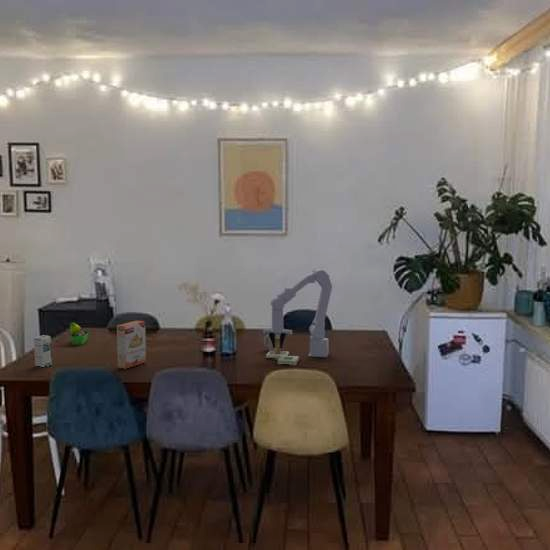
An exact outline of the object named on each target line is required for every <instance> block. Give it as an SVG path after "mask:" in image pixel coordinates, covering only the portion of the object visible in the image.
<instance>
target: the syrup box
mask: <svg viewBox="0 0 550 550" xmlns="http://www.w3.org/2000/svg"><path fill="white" fill-rule="evenodd" d="M33 346H34V347H33V349H34V350H33V351H34V362H35V363H34V364H35V365H36V366H41V367H45V366H47V367H50V366H49V365H51V366H53V365H52V364H53V350H52V337H51V335H46V334H43V335H39V336H35V337H33ZM36 366H35V367H36ZM41 367H40V368H41ZM45 368H46V367H45Z"/></svg>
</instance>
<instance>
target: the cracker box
mask: <svg viewBox="0 0 550 550" xmlns="http://www.w3.org/2000/svg"><path fill="white" fill-rule="evenodd" d="M146 340H147V339H146V321H144V320H135V321H134V320H133V321H130V322H126V323H122V324H117V325H116V343H117V344H116V345H117V346H116V347H117V348H116V350H117V352H116V353H117V368H118V369H122V368H123V370H128V369H127V368H129V369H131V368H130V367H132V368H134V367H133V366H135V367H137V366H136V365H138V366H140V365H139V364H141V365H143V364H142V363H144V362H146V363H147V358H146V357H147V356H146V355H147V352H146V351H147V346H146V343H147V342H146ZM144 364H145V363H144Z"/></svg>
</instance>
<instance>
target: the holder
mask: <svg viewBox="0 0 550 550" xmlns="http://www.w3.org/2000/svg"><path fill="white" fill-rule="evenodd" d="M299 360H300V356H299V355H289V356H280V358H279V359H277V365H281V364H289V365H288V366H297V364H298V363H299ZM297 362H298V363H297Z"/></svg>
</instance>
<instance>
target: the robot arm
mask: <svg viewBox="0 0 550 550" xmlns="http://www.w3.org/2000/svg"><path fill="white" fill-rule="evenodd" d="M316 282H317V283H318V285H319V287H321V289H320V294H319V298H318V303H317V307H316V312H315V315H314V318H313V320H312V323H311V324H310V325H309V328H308V331H309V333H310V336H309V353H308V355H307V357H314V358H315V357H316V358H319V357H320V358H328V356H329V354H330V353H329V351H330V350H329V338H326V337H325V335H326V330H325V327H326V323H325V321H326V320H325V319H326V316H327V311H328V307H329V303H330V299H331V293H332V289H333V285H332V282H331V278H330V275H329V274H328V273H327V272H326V271H325V270H323V269H321V268H320V267H315V268H313V269H312V270H311V271H309V272H308V273H306V275H304V276H303V277H302V278H301V279H300V280H299V281H298V282H297V283H296V284H294V285H293V286H291V287H290V286H288V287H285V288H284V289H283V290H282V291H281V293H279V294H277V295H276V297H273V298H272V299H271V301H270V305H271V328H263V330H262V333H263V334H268V335H269V337H270V339H271V342H272V345H273V348H275V334H281V335H280V348H282V349H283V345H284V342H285V339H286V336H287V335H293V330H292V329H287V328H286V329H285V328H284V308H285V305H286V304H288V303H289V302H291V301H292V299H294V298H295V297H296V295H297V292H299V291H300V290H302V289H303V288H304V287H305V286H307V285H308V284H315V283H316Z"/></svg>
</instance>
